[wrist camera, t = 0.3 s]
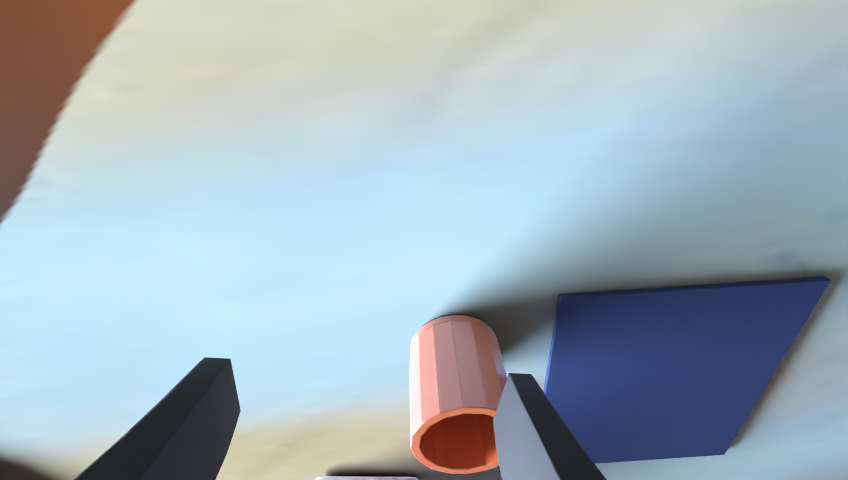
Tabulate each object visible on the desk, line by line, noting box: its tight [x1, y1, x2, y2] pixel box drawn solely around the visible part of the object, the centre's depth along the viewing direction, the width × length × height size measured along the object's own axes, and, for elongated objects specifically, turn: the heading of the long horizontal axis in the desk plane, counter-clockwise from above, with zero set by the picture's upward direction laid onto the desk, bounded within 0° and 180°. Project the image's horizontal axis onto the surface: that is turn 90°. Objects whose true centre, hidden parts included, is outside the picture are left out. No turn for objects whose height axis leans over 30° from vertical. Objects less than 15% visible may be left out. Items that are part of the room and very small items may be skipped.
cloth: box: [544, 277, 831, 463], centre depth 26 cm, size 17×15×1 cm
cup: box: [410, 315, 508, 474], centre depth 21 cm, size 5×5×6 cm
